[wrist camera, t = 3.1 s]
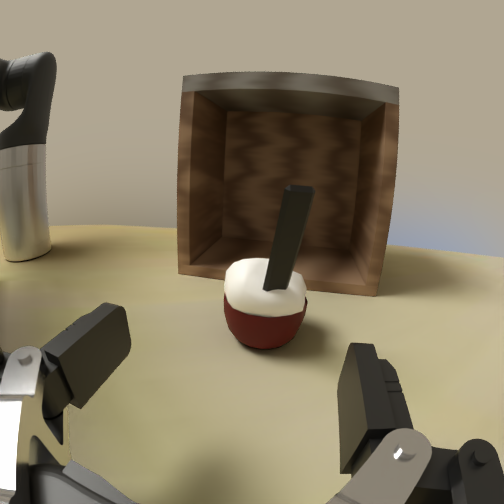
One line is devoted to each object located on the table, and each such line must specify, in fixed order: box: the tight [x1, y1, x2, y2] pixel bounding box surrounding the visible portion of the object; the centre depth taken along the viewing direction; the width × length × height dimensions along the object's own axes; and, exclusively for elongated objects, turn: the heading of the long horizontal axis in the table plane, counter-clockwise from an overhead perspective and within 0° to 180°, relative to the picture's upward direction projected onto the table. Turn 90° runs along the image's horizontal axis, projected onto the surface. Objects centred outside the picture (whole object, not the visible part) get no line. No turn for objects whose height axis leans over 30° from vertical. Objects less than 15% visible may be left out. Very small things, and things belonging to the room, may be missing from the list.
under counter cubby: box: [177, 72, 399, 296], centre depth 35 cm, size 23×15×23 cm, turn 80°
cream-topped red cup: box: [224, 185, 315, 349], centre depth 20 cm, size 10×6×12 cm, turn 170°
